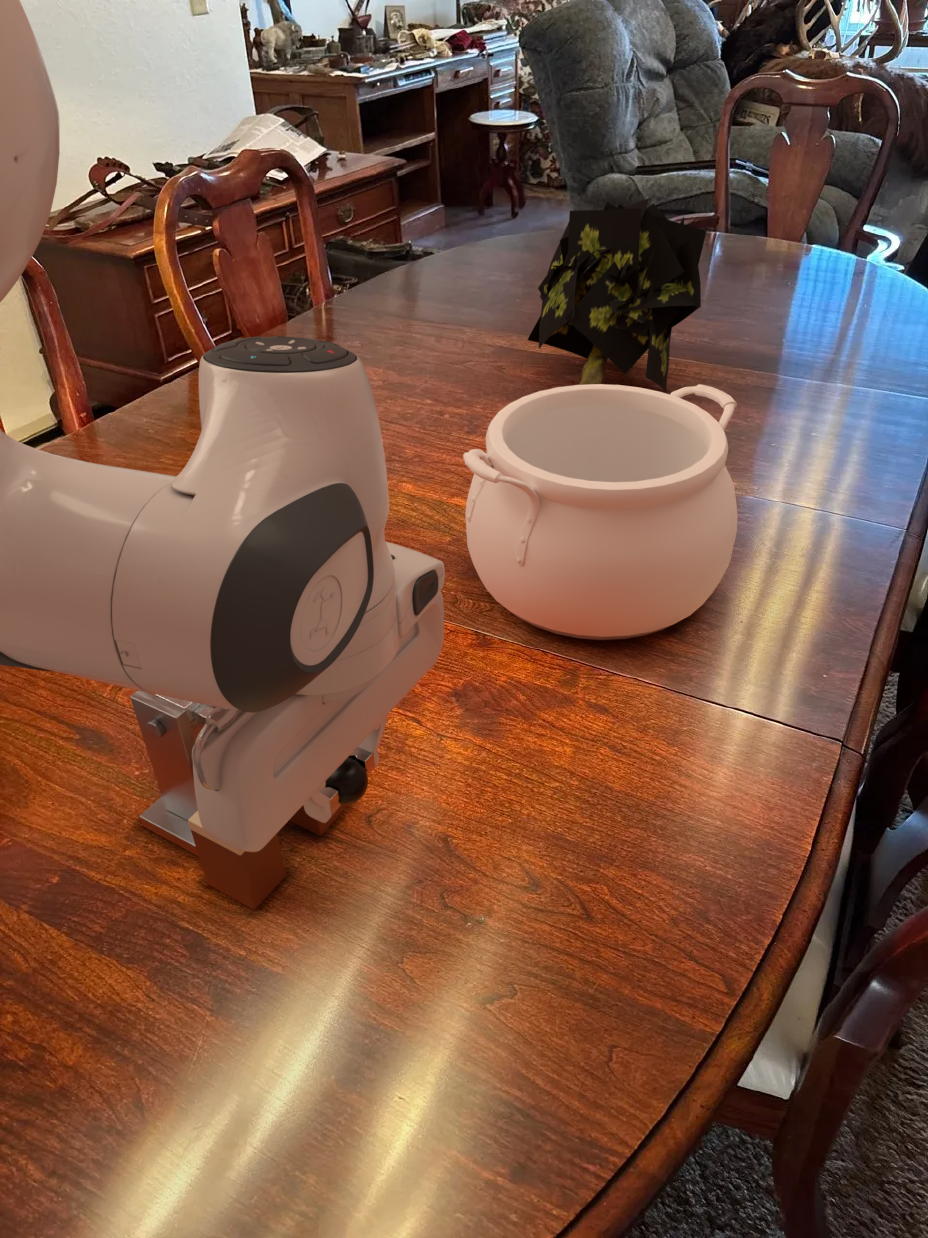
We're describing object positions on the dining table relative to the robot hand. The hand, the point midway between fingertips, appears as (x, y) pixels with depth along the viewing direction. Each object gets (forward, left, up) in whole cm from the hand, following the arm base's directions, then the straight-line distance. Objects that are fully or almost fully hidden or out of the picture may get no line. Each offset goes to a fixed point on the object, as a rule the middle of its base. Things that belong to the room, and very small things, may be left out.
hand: (343, 789), depth 60 cm
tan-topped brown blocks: (0, +7, -10) cm, 12 cm away
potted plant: (+89, +20, -10) cm, 92 cm away
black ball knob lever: (0, +7, 0) cm, 7 cm away
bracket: (0, +14, -10) cm, 17 cm away
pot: (+43, +1, -10) cm, 44 cm away
